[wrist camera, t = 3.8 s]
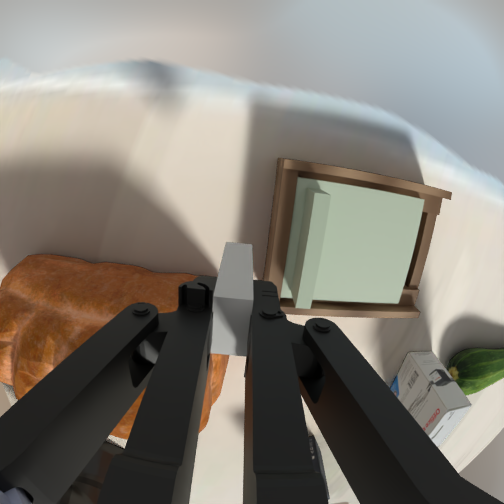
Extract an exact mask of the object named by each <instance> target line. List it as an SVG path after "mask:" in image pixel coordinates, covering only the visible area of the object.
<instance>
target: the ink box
mask: <svg viewBox="0 0 504 504" xmlns="http://www.w3.org/2000/svg"><path fill="white" fill-rule="evenodd" d="M390 389H391V391H392V392H393V393H394V394H395V396H396V397H397V398H398V399H399V400H400V402H401V403H402V404H403V405H404V406H405V408H406V409H407V410H408V411H409V413H410V414H411V415H412V416H413V418H414V419H415V420H416V421H417V422H418V424H419V425H420V426H421V427H422V429H423V430H424V431H425V432H426V434H427V435H428V436H429V437H430V439H431V440H432V441H433V442H434V444H435V445H436V446H437V447H439V446H440V445H441V444H442V442H443V441H444V440H445V439H446V438H447V436H448V435H449V434H450V433H451V432H452V430H453V429H454V428H455V427H456V425H457V424H458V423H459V422H460V420H461V419H462V418H463V416H464V415H465V414H466V412H467V411H468V410H469V408H470V407H471V405H472V404H471V403H470V401H469V400H468V398H467V397H466V396H465V394H464V393H463V391H462V390H461V389H460V387H459V386H458V384H457V383H456V382H455V380H454V379H453V378H452V376H451V375H450V374H449V372H448V371H447V370H446V368H445V367H444V366H443V364H442V363H441V362H440V361H439V359H438V358H437V357H436V355H435V354H434V353H433V352H432V351H430V352H409V353H407V355H406V358H405V360H404V362H403V364H402V366H401V368H400V370H399V372H398V374H397V376H396V378H395V380H394V382H393V384H392V386H391V388H390Z"/></svg>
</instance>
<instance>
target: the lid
mask: <svg viewBox="0 0 504 504" xmlns="http://www.w3.org/2000/svg"><path fill="white" fill-rule="evenodd" d="M423 205H424V199H421V198H417V197H412V196H408V195H403V194H398V193H393V192H388V191H383V190H378V189H372V188H367V187H361V186H355V185H350V184H344V183H337V182H331V181H324V180H318V179H311V178H303V177H298V178H297V186H296V193H295V201H294V208H293V216H292V223H291V230H290V237H289V244H288V251H287V257H286V264H285V270H284V277H283V283H282V289H281V296H280V297H281V298H293V301H294V304H295V308H303V309H310V308H311V303H312V300H327V301H346V302H367V303H395V304H398V303H399V300H400V297H401V294H402V290H403V287H404V284H405V280H406V277H407V273H408V270H409V266H410V262H411V259H412V255H413V251H414V247H415V243H416V238H417V234H418V230H419V225H420V220H421V216H422V211H423Z"/></svg>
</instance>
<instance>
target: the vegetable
mask: <svg viewBox="0 0 504 504" xmlns="http://www.w3.org/2000/svg"><path fill="white" fill-rule="evenodd" d="M446 370H447V371H448V372H449V374H450V375H451V376H452V378H453V379H454V380H455V382H456V383H457V384H458V386H459V387H460V389H461V390H462V391H463V393H464V394H465V395H469V394H473V393H476V392H478V391H480V390H482V389H484V388H486V387H488V386H490V385H491V384H493V383H495V382H497V381H499V380H500V379H502V378H504V348H500V349H484V348H471V349H466V350H464V351H461V352H459V353H458V354H457V355H456V356H455V357H453V358H452V359H451V360H450V363H449V365H448V367H447V369H446Z"/></svg>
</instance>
